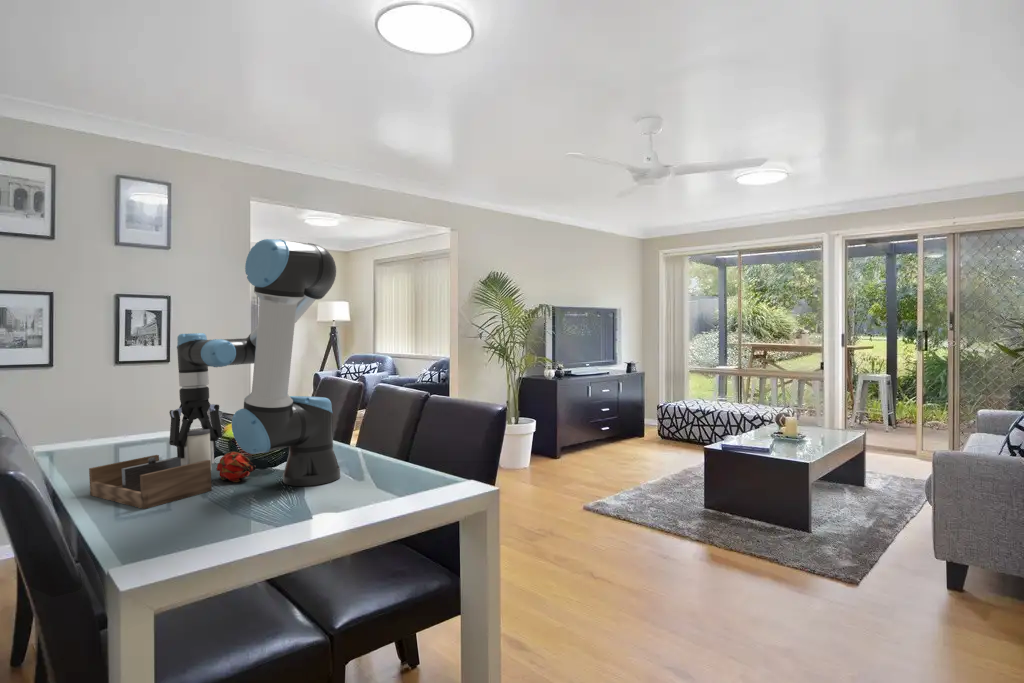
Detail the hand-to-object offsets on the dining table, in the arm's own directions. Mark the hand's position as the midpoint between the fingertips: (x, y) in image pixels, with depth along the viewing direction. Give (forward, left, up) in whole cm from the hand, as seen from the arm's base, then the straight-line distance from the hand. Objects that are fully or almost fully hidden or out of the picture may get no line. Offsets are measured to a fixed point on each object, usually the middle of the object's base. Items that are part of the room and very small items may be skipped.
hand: (197, 465), depth 171 cm
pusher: (-7, +16, -2) cm, 18 cm away
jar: (0, 0, -2) cm, 2 cm away
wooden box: (-6, +16, -3) cm, 18 cm away
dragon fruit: (-15, -2, -3) cm, 15 cm away
